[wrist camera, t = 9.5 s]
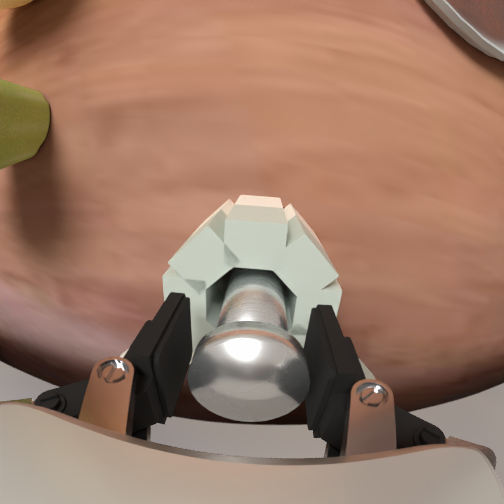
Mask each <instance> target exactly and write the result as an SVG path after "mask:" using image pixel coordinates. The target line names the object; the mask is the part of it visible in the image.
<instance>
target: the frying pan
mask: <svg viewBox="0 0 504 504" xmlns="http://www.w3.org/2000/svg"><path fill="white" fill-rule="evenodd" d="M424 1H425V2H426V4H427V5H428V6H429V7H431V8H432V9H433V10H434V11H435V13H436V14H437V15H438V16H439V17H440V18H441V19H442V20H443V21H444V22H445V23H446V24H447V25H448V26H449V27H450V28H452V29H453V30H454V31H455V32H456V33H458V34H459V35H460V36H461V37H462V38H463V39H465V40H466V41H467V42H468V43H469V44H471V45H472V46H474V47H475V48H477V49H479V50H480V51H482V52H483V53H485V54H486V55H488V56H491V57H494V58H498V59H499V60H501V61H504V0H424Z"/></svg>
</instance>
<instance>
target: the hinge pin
mask: <svg viewBox="0 0 504 504" xmlns="http://www.w3.org/2000/svg"><path fill="white" fill-rule="evenodd" d="M188 385H189V388H190V391H191V392H192V394H193V396H194V397H195V398H196V400H197V401H198V402H199V403H200V404H201V405H203V406H204V407H205V408H207V409H208V410H210V411H211V412H213V413H215V414H217V415H220V416H222V417H225V418H228V419H232V420H237V421H245V422H258V421H266V420H271V419H275V418H278V417H281V416H283V415H286V414H287V413H289V412H291V411H292V410H294V409H295V408H297V407H298V406H299V405H300V404H301V403H302V402H303V400H304V399H305V397H306V396H307V394H308V391H309V387H310V377H309V371H308V366H307V360H306V355H305V352H304V349H303V347H302V346H301V344H300V343H299V342H298V340H297V339H296V338H295V337H294V336H292V335H291V334H290V333H288V326H287V317H286V309H285V301H284V292H283V284H282V280H281V279H280V278H279V276H278V275H277V274H276V273H275V272H274V271H273V270H263V269H250V268H238V267H233V268H232V272H231V276H230V279H229V283H228V287H227V290H226V294H225V298H224V302H223V305H222V309H221V313H220V317H219V321H218V324H217V327H216V328H214V329H213V330H211V331H210V332H208V333H207V334H206V335H205V336H204V337H203V338H202V339H201V340H200V341H199V343H198V345H197V347H196V349H195V352H194V355H193V358H192V361H191V364H190V367H189V370H188Z"/></svg>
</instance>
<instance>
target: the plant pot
mask: <svg viewBox="0 0 504 504" xmlns="http://www.w3.org/2000/svg"><path fill="white" fill-rule="evenodd" d="M49 122H50V109H49V104H48V102H47V101H46V99H45V98H44V96H43V95H42V93H41V92H39V91H36V90H33V89H30V88H27V87H23V86H20V85H17V84H14V83H11V82H8V81H5V80H2V79H0V169H3V168H5V167H8V166H10V165H13V164H16V163H18V162H21V161H24V160H26V159H29V158H31V157H33V156H34V155H35V154H36V153H37V150H38V149H39V147H40V145H41V144H42V143H43V141H44V140H45V138H46V135H47V132H48V128H49Z"/></svg>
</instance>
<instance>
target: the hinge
mask: <svg viewBox="0 0 504 504" xmlns="http://www.w3.org/2000/svg"><path fill="white" fill-rule="evenodd" d="M168 263H169V264H170V265H171V266H170V268H169V269H168V270H167V271H166V273H165V274H164V275H163V276H162V277H163V291H164V301H165V300H166V298H167V297H168V295H169V294H170V292H177V293H185V296H186V297H189V298H190V310H191V330H192V347H193V353H192V358H193V355H194V352H195V349H196V347H197V345H198V343H199V341H200V340H201V339H202V338H203V337H204V336H205V335H206V334H207V333H208V332H210V331H211V330H213V329H214V328H216V327H217V324H218V321H219V317H220V313H221V309H222V305H223V302H224V298H225V294H226V290H227V287H228V283H229V279H230V276H231V272H232V271H231V269H232V268H233V267H238V268H250V269H263V270H273V271H274V272H275V273H276V274H277V275H278V276H279V278H280V279H281V280H282V284H283V292H284V301H285V309H286V317H287V326H288V333H290V334H291V335H292V336H294V337H295V338H296V339H297V340H298V342H299V343H300V344H301V346H302V347H303V348H304V344H305V339H306V334H307V329H308V324H309V319H310V314H311V309H312V308H316V307H317V305H318V304H322V305H332V307H333V310H334V312H335V315H336V316H337V312H338V308H339V304H340V299H341V295H342V289H341V287H340V285H339V283H338V281H337V279H336V278H337V277H339V275H338V273H337V271H336V270H335V268H334V266H333V264H332V262H331V261H330V259H329V257H328V255H327V254H326V252H325V250H324V248H323V247H322V245H321V243H320V241H319V240H318V238H317V236H316V234H315V233H314V231H313V230H312V229H311V228H310V226H309V225H308V224H307V223H306V222H305V220H304V219H303V218H302V217H301V215H300V214H299V213H298V212H297V211H296V209H295V208H294V207H293V206H292V205H291V203H290V204H289V205H288V206H286V207H285V208H284V209H283V206H282V203H281V200H280V198H275V197H263V196H249V195H240V197H239V198H238V200H237V201H236V203H235V204H234V203H233V202H232V201H231V200H230V199H229V200H227V201H226V202H225V203H224V204H223V205H222V206H221V207H220V208H218V209H217V210H216V211H215V212H214V213H213V214H212V215H211V216H210V217H208V218H207V219H206V220H205V221H204V222H203V223H202V224H201V225H200V226H199V227H198V228H197V229H196V231H195V232H194V233H193V234H192V235H191V236H190V237H189V239H188V240H187V241H186V242H185V243H184V244H183V245H182V247H181V248H180V249H179V250H178V251H177V252H176V253H175V255H174V256H173V257H172V258H171V259H170V260H169V262H168ZM127 351H128V349H127V350H126V351H125V352H124V353H123V354H121V356H120V357H121V358H123V357H124V356H125V354H126V352H127ZM192 358H191V361H192ZM191 361H190V364H191ZM359 361H360V364H361V366H362V369H363V372H364V374H365V377H366V379H374V380H375V377H374V375H373V374H372V373H371V372H370V371H369V369H368V368H367V367H366V366H365V365H364V364H363V363H362V361H361V360H360V359H359Z"/></svg>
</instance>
